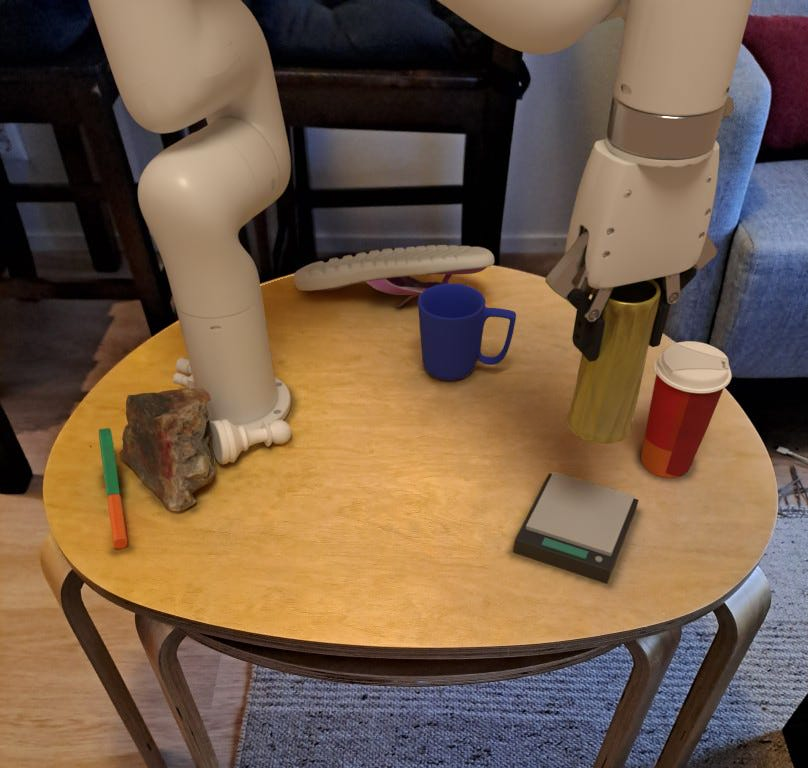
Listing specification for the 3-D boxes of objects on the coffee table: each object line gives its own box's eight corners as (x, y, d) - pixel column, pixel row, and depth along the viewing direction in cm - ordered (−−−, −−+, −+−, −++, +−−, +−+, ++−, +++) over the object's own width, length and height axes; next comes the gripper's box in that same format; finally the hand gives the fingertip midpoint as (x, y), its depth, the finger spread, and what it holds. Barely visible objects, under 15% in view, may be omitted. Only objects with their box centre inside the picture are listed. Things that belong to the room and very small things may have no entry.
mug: (506, 394, 102) (513, 325, 95) (412, 383, 104) (411, 315, 96) (513, 357, 108) (520, 289, 100) (423, 347, 109) (424, 279, 102)
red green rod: (111, 451, 95) (96, 453, 94) (108, 416, 90) (92, 417, 89) (131, 558, 87) (114, 561, 87) (129, 525, 82) (112, 527, 82)
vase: (563, 439, 75) (587, 302, 65) (569, 399, 79) (593, 264, 69) (630, 449, 74) (665, 311, 64) (633, 408, 78) (667, 272, 68)
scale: (513, 552, 84) (515, 535, 82) (546, 486, 91) (549, 468, 89) (607, 584, 81) (611, 567, 79) (635, 512, 88) (639, 495, 86)
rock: (227, 395, 94) (152, 360, 87) (251, 471, 87) (170, 440, 80) (168, 464, 99) (92, 436, 92) (185, 541, 92) (104, 517, 85)
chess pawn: (225, 454, 90) (301, 441, 93) (212, 413, 91) (288, 401, 94) (218, 471, 94) (291, 457, 98) (206, 431, 95) (279, 419, 99)
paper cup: (700, 446, 95) (735, 344, 85) (698, 490, 90) (734, 387, 80) (633, 434, 97) (658, 333, 86) (627, 477, 92) (653, 375, 81)
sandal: (493, 232, 116) (497, 283, 120) (298, 258, 121) (308, 307, 124) (493, 250, 105) (497, 305, 109) (279, 278, 110) (290, 330, 113)
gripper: (734, 90, 61) (677, 304, 75) (528, 122, 57) (507, 342, 71) (799, 126, 56) (725, 348, 70) (579, 164, 53) (546, 391, 66)
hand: (616, 343), depth 70 cm, fingers closed on vase, 5 cm apart
